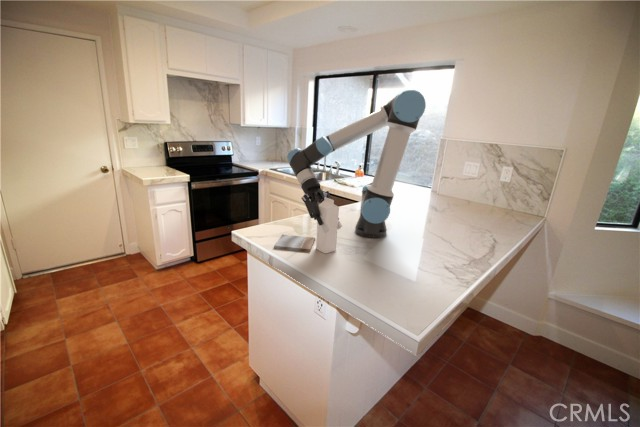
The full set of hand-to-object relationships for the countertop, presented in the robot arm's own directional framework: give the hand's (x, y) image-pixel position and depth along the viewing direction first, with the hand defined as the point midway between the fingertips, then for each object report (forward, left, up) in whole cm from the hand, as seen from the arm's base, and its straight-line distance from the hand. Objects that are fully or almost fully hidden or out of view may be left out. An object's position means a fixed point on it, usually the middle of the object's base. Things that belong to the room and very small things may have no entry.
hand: (333, 229), depth 120 cm
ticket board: (+16, -5, -10) cm, 20 cm away
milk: (+3, -2, -10) cm, 11 cm away
